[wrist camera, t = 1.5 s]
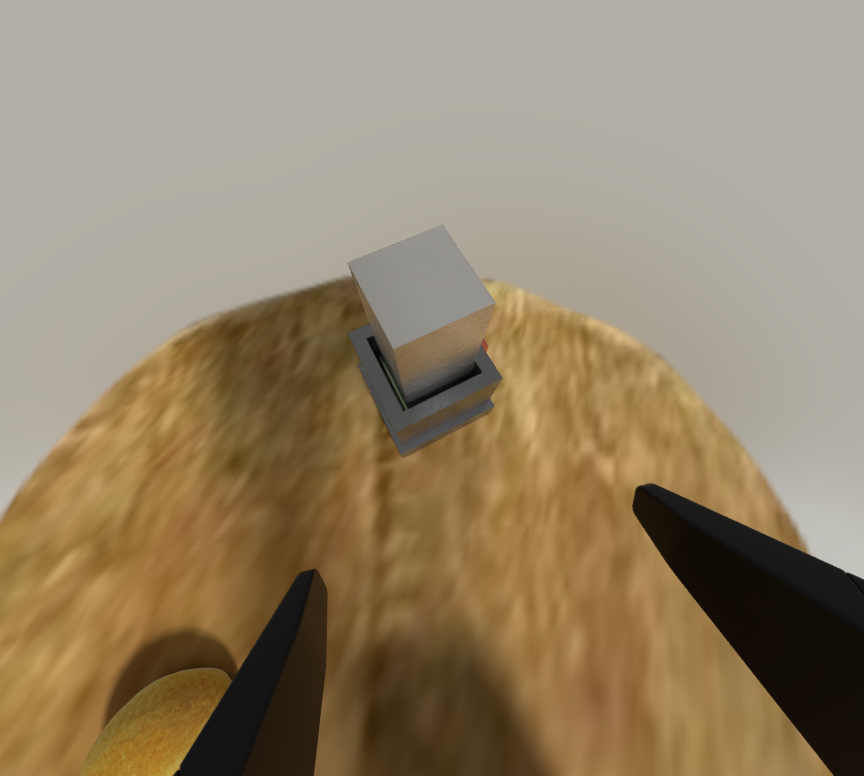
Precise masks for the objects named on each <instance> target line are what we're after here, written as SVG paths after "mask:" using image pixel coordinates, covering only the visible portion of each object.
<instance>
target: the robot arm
mask: <svg viewBox="0 0 864 776" xmlns="http://www.w3.org/2000/svg"><path fill="white" fill-rule="evenodd" d="M632 508H633V512H634V514H635V516H636V517H637V519H638V520H639V522H640V523H641V525H642V526H643V528H644V529H645V531H646V532H647V534H648V535H649V537H650V539H651V540H652V542H653V543H654V545H655V546H656V548H657V549H658V551H659V552H660V554H661V555H662V557H663V558H664V560H665V561H666V563H667V564H668V565H669V567H670V568H671V570H672V571H673V572H674V574H675V575H676V576H677V578H678V579H679V580H680V581H681V583H682V584H683V585H684V586H685V588H686V589H687V590H688V591H689V593H690V594H691V595H692V597H693V598H694V599H695V600H696V602H697V603H698V604H699V605H700V607H701V608H702V609H703V610H704V612H705V613H706V614H707V616H708V617H709V618H710V619H711V621H712V622H713V623H714V624H715V626H716V627H717V628H718V630H719V631H720V632H721V633H722V635H723V636H724V637H725V638H726V640H727V641H728V642H729V643H730V645H731V646H732V647H733V649H734V650H735V651H736V652H737V654H738V655H739V656H740V657H741V659H742V660H743V661H744V662H745V664H746V665H747V666H748V668H749V669H750V670H751V671H752V673H753V674H754V675H755V676H756V678H757V679H758V680H759V682H760V683H761V684H762V685H763V687H764V688H765V689H766V690H767V692H768V693H769V694H770V695H771V697H772V698H773V699H774V701H775V702H776V703H777V704H778V706H779V707H780V708H781V709H782V711H783V712H784V713H785V714H786V716H787V717H788V718H789V720H790V721H791V722H792V723H793V725H794V726H795V727H796V728H797V730H798V731H799V732H800V734H801V735H802V736H803V737H804V739H805V740H806V741H807V742H808V744H809V745H810V746H811V747H812V749H813V750H814V751H815V753H816V754H817V755H818V756H819V758H820V759H821V760H822V761H823V763H824V764H825V765H826V766H827V768H828V769H829V770H830V772H831V773H832V774H833V775H834V776H864V579H862V578H859V577H857V576H855V575H853V574H851V573H845V572H844V571H843V570H842V569H839V568H837V567H835V566H833V565H831V564H828V563H826V562H824V561H822V560H820V559H818V558H815V557H813V556H811V555H809V554H807V553H805V552H802V551H800V550H798V549H796V548H794V547H791V546H789V545H787V544H785V543H783V542H780V541H778V540H776V539H774V538H772V537H769V536H767V535H765V534H763V533H761V532H759V531H756V530H754V529H752V528H750V527H748V526H745V525H743V524H741V523H739V522H737V521H734V520H732V519H730V518H728V517H726V516H724V515H721V514H719V513H717V512H715V511H713V510H710V509H708V508H706V507H704V506H702V505H699V504H697V503H695V502H693V501H691V500H689V499H686V498H684V497H682V496H680V495H678V494H675V493H673V492H671V491H669V490H667V489H664V488H662V487H660V486H658V485H656V484H652V483H649V484H644V485H641V486H638V487H637V488H636V490H635V495H634V500H633V505H632ZM326 647H327V588H326V585H325V583H324V581H323V580H322V578H321V576H320V574H319V572H318V570H316V569H310V570H307V571H303V572H301V573H299V574H298V576H297V577H296V579H295V580H294V582H293V584H292V585H291V587H290V588H289V590H288V592H287V593H286V595H285V596H284V598H283V600H282V601H281V603H280V604H279V606H278V608H277V609H276V611H275V613H274V614H273V616H272V617H271V619H270V621H269V622H268V624H267V625H266V627H265V629H264V630H263V632H262V633H261V635H260V637H259V638H258V640H257V641H256V643H255V645H254V646H253V648H252V650H251V651H250V653H249V654H248V656H247V658H246V659H245V661H244V662H243V664H242V666H241V667H240V669H239V670H238V672H237V674H236V675H235V677H234V679H233V680H232V682H231V683H230V685H229V687H228V688H227V690H226V691H225V693H224V695H223V696H222V698H221V699H220V701H219V703H218V704H217V706H216V708H215V709H214V711H213V712H212V714H211V716H210V717H209V719H208V720H207V722H206V724H205V725H204V727H203V728H202V730H201V732H200V733H199V735H198V737H197V738H196V740H195V741H194V743H193V745H192V746H191V748H190V749H189V751H188V753H187V754H186V756H185V757H184V759H183V761H182V762H181V764H180V768H179V770H177V771H176V772H175V773H174V775H173V776H314V769H315V760H316V751H317V742H318V733H319V724H320V715H321V706H322V698H323V689H324V680H325V669H326Z"/></svg>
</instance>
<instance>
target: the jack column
mask: <svg viewBox="0 0 864 776" xmlns="http://www.w3.org/2000/svg"><path fill="white" fill-rule="evenodd" d="M348 265H349V267H350V270H351V273H352V276H353V279H354V282H355V285H356V287H357V290H358V293H359V296H360V299H361V301H362V304H363V307H364V310H365V313H366V316H367V318H368V321H369V324H370V327H371V330H372V333H373V335H374V338H375V341H376V344H377V347H378V350H379V352H380V355H381V357H380V360H381V363H382V365H383V367H384V369H385V371H386V373H387V375H388V377H389V379H390V381H391V383H392V385H393V387H394V389H395V391H396V392H397V394H398V396H399V398H400V400H401V402H402V404H403V406H404V408H405V410H408V409H410V408H412V407H414V406H416V405H418V404H420V403H422V402H424V401H426V400H428V399H430V398H432V397H434V396H436V395H438V394H440V393H442V392H444V391H446V390H448V389H450V388H452V387H455V386H457V385H459V384H461V383H463V382H465V381H467V380H469V378H470V376H471V373H472V370H473V367H474V364H475V361H476V358H477V355H478V352H479V350H480V347H481V344H482V341H483V338H484V335H485V332H486V329H487V326H488V324H489V321H490V318H491V315H492V312H493V309H494V306H495V303H496V302H495V301H494V299H493V298H492V296H491V295H490V294H489V292H488V291H487V289H486V288H485V286H484V285H483V283H482V282H481V280H480V279H479V277H478V276H477V274H476V273H475V271H474V270H473V268H472V267H471V266H470V264H469V263H468V261H467V260H466V258H465V257H464V255H463V254H462V252H461V251H460V249H459V248H458V247H457V245H456V243H455V242H454V241H453V239H452V238H451V236H450V235H449V233H448V232H447V230H446V229H445V227H444V226H443V225H441V226H438V227H435V228H433V229H431V230H428V231H426V232H423V233H420V234H418V235H415V236H413V237H411V238H408V239H405V240H403V241H400V242H398V243H396V244H393V245H390V246H388V247H385V248H383V249H380V250H378V251H375V252H373V253H370V254H368V255H365V256H363V257H360V258H358V259H355V260H353V261H350V262H348Z"/></svg>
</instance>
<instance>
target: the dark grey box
mask: <svg viewBox="0 0 864 776" xmlns="http://www.w3.org/2000/svg"><path fill="white" fill-rule="evenodd" d="M348 335H349V337H350V339H351V341H352V343H353V345H354V347H355V349H356V351H357V353H358V356H359V358H360V360H361V362H362V363H361V364H358V367H359V369H360V371H361V373H362V375H363V377H364V379H365V381H366V383H367V385H368V388H369V390H370V392H371V394H372V396H373V398H374V400H375V402H376V404H377V406H378V408H379V411H380V413H381V415H382V417H383V419H384V421H385V423H386V425H387V427H388V429H389V431H390V434H391V436H392V438H393V440H394V442H395V444H396V446H397V448H398V450H399V452H400V454H401V456H402V457H403V458H404V457H406V456H408V455H410V454H412V453H414V452H416V451H418V450H420V449H422V448H424V447H425V446H427V445H429V444H431V443H433V442H435V441H437V440H439V439H441V438H443V437H445V436H447V435H449V434H451V433H452V432H454V431H456V430H458V429H460V428H462V427H464V426H466V425H468V424H470V423H472V422H474V421H476V420H477V419H479V418H481V417H483V416H485V415H487V414H489V413H490V412H491V410H492V409H493V408H494V404H493V403H492V401H491V399H490V398H491V396H492V395H493V393H494V392H495V390H496V388H497V387H498V385H499V384H500V382H501V381H502V379H503V378H502V377H501V375H500V373H499V372H498V370H497V369H496V367H495V366H494V364H493V362H492V361H491V359H490V358H489V356H488V354H487V353H486V352H487V349H488V345H487V343H486V342H485V340H484V339H483V341H482V344H481V347H480V350H479V352H478V355H477V358H476V361H475V364H474V367H473V370H472V373H471V376H470V378H469V380H467V381H465V382H463V383H461V384H459V385H457V386H455V387H452V388H450V389H448V390H446V391H444V392H442V393H440V394H438V395H436V396H434V397H432V398H430V399H428V400H426V401H424V402H422V403H420V404H418V405H416V406H414V407H412V408H410V409H408V410H405V408H404V406H403V404H402V402H401V400H400V398H399V396H398V394H397V392H396V391H395V389H394V387H393V385H392V383H391V381H390V379H389V377H388V375H387V373H386V371H385V369H384V367H383V365H382V363H381V360H380V357H381V355H380V352H379V350H378V347H377V344H376V341H375V338H374V335H373V333H372V330H371V327H370V324H367V325H365V326H363V327H360V328H358V329H356V330H354V331H351V332H349V333H348Z"/></svg>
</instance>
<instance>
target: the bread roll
mask: <svg viewBox="0 0 864 776" xmlns="http://www.w3.org/2000/svg"><path fill="white" fill-rule="evenodd" d="M231 682H232V680H231V679H230V678H229V676H228V675H227V674H226V673H225V672H224V671H223V670H221V669H217V668H196V669H188V670H182V671H179V672H176V673H173V674H170V675H167V676H164V677H162V678H160V679H158V680H156V681H154V682H152V683H151V684H149V685H148V686H147V687H145V688H144V689H142V690H141V691H140V692H139V693H137V694H136V695H135V696H134V697H133V698H132V699H131V700H130V701H129V702H128V703H127V704H126V705H125V706H124V707H123V708H121V709H120V710H119V711H118V712H117V714H116V715H115V716H114V717H113V718H112V719H111V720H110V722H109V723H108V724H107V726H106V727H105V728H104V730H103V731H102V733H101V734H100V736H99V737H98V739H97V740H96V742H95V743H94V745H93V746H92V748H91V750H90V752H89V754H88V756H87V758H86V760H85V762H84V765H83V767H82V770H81V772H80V775H79V776H173V775H174V773H175V772H176V771H177V770H179V768H180V764H181V762H182V761H183V759H184V757H185V756H186V754H187V753H188V751H189V749H190V748H191V746H192V745H193V743H194V741H195V740H196V738H197V737H198V735H199V733H200V732H201V730H202V728H203V727H204V725H205V724H206V722H207V720H208V719H209V717H210V716H211V714H212V712H213V711H214V709H215V708H216V706H217V704H218V703H219V701H220V699H221V698H222V696H223V695H224V693H225V691H226V690H227V688H228V687H229V685H230V683H231Z"/></svg>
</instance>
